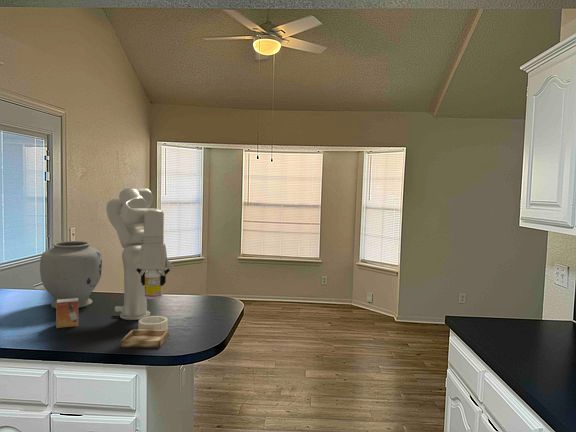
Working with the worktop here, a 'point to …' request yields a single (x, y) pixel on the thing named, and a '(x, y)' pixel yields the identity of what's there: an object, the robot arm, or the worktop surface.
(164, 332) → the tray
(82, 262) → the grey ceramic vase
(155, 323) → the holder
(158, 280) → the supplement bottle
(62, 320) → the small box
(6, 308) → the worktop surface
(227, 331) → the worktop surface
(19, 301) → the worktop surface
